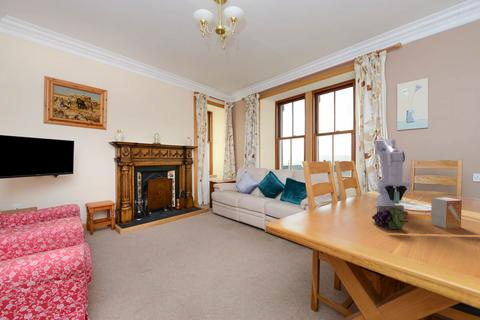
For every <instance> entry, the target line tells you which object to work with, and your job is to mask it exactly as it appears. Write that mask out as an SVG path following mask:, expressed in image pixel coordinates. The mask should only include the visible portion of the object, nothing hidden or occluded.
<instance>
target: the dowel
mask: <svg viewBox="0 0 480 320" xmlns="http://www.w3.org/2000/svg"><path fill="white" fill-rule="evenodd" d="M392 203H395V205H400V201H399V192H397V191H395V192H394V201H392Z"/></svg>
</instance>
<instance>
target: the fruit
mask: <svg viewBox="0 0 480 320" xmlns="http://www.w3.org/2000/svg"><path fill="white" fill-rule="evenodd" d="M371 219H372V220H374V223H375V224H377V225H378V226H382V227H383V229H386V230H394V231H395V230H399V231H401V230H403V227H404V225H405V224H406V223H409V220H405V218H404V217H403V216H402V213H400V211H399V210H398V209H397V208H396V209H394V210H393V209H392V210H391V209H385V210H384V212H383V213H382V212H379V211H378V212H377V211H376V213H375V214H373V215H372V216H371Z"/></svg>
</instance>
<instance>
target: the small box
mask: <svg viewBox="0 0 480 320" xmlns="http://www.w3.org/2000/svg"><path fill="white" fill-rule="evenodd" d="M462 206H463V200H462V199H457V198H453V197H447V196H445V197H444V196H443V197H432V198H431V207H430V209H431V211H430V212H431V215H430V224H431V225H434V226H436V227H437V226H438V227H440V228H443V229H458V228H459V229H460V228H462V210H463V209H462Z"/></svg>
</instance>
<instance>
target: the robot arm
mask: <svg viewBox="0 0 480 320" xmlns="http://www.w3.org/2000/svg"><path fill="white" fill-rule="evenodd" d="M396 143H397V142H396V139H395V138H383V139H382V138H380V139H378V138H377V139H376V140H375V142H374V148H375V149H374V150H375V153H376V154H377V155H378V156H379V161H380V170H381V177H382V178H381V179H379V180H378V181H377V182H376V184H377V186H376V187H377V189H376V190H377V193H378V195H377V197H376V206H374V207H375V208H377V205H396V204H395V203H392V201H394V192H395V191H397V192H399V202H400V201H402V198H403V197H404V195H405V193H406V191H407V190H408V188H411V187H412V182H403V181H404V179H403V175H404V171H403V170H404V163H405V161H406V160H405V159H406V153H405V152H404V151H400V150H399V148H398V146H396Z"/></svg>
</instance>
